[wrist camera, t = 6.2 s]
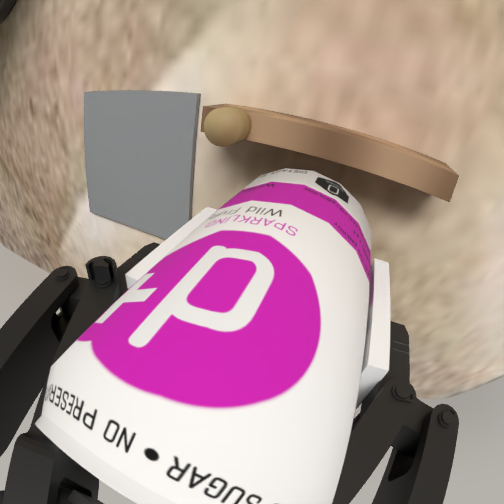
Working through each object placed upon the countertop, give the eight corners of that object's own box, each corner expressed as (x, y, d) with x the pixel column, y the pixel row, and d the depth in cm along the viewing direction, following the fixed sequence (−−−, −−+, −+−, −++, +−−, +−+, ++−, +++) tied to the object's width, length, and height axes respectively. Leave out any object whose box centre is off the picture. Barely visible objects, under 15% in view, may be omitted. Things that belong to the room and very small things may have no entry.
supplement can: (229, 161, 16) (-29, 348, 4) (382, 175, 13) (361, 570, 1) (237, 280, 20) (100, 475, 8) (359, 303, 18) (294, 558, 6)
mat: (92, 210, 27) (90, 211, 27) (87, 91, 20) (84, 92, 20) (190, 244, 24) (187, 247, 24) (200, 93, 17) (197, 93, 17)
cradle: (210, 267, 24) (182, 299, 21) (226, 100, 17) (188, 104, 14) (375, 323, 21) (371, 367, 18) (446, 159, 14) (469, 179, 10)
